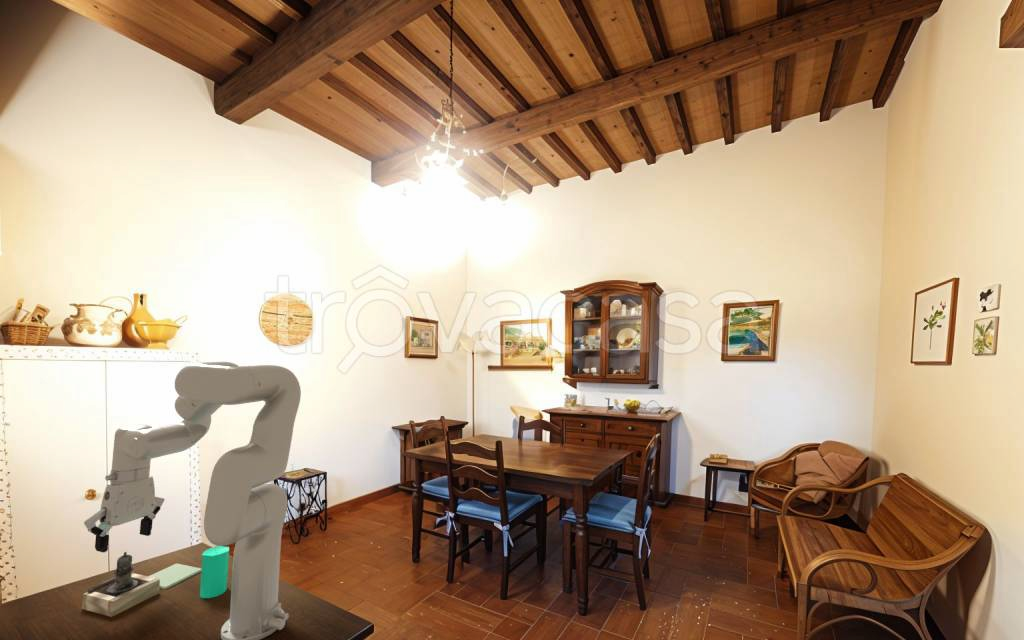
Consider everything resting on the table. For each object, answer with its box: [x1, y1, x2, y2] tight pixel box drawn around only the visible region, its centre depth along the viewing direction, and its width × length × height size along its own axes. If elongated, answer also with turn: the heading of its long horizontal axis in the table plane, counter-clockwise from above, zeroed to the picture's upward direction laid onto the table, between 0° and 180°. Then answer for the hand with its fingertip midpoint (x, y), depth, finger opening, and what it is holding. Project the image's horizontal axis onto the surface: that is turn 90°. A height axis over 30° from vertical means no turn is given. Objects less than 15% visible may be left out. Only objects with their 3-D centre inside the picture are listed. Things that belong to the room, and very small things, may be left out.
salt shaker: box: [107, 551, 138, 597], centre depth 109 cm, size 6×6×12 cm
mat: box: [147, 563, 202, 590], centre depth 120 cm, size 10×10×1 cm
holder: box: [81, 572, 160, 618], centre depth 108 cm, size 10×10×4 cm
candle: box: [199, 545, 230, 599], centre depth 113 cm, size 6×6×12 cm
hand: (124, 542), depth 109 cm, fingers open, 9 cm apart
